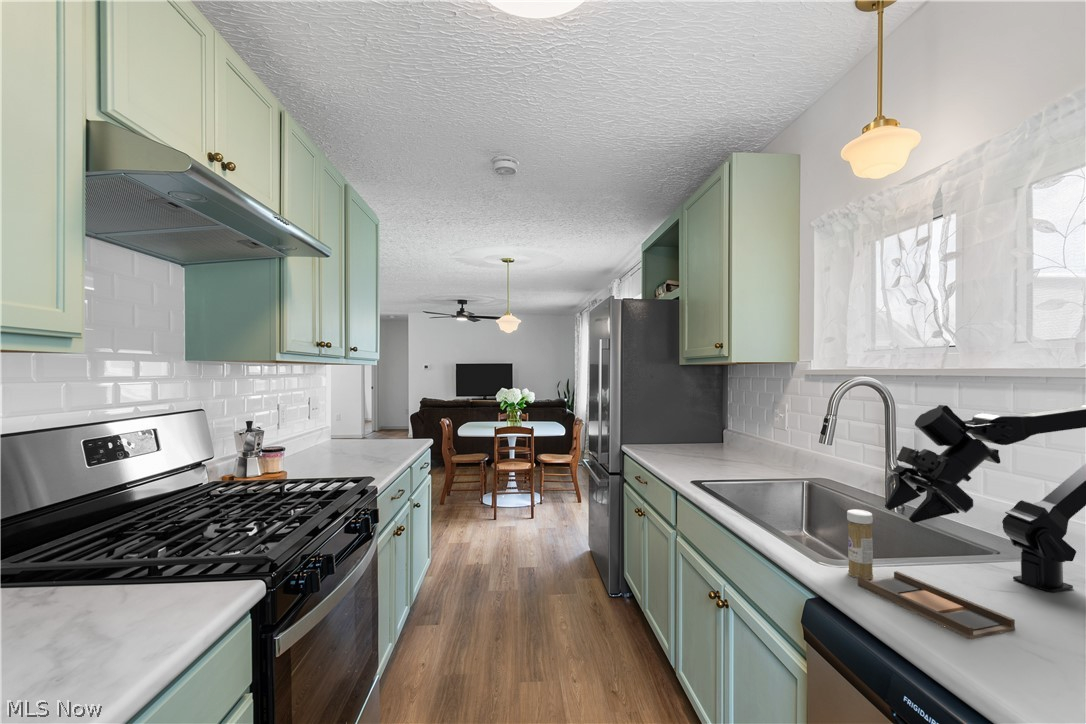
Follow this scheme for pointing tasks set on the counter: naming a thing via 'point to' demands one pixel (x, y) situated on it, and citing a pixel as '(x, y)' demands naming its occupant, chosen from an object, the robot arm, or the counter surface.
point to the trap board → (939, 606)
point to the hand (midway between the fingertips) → (898, 514)
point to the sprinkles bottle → (860, 543)
